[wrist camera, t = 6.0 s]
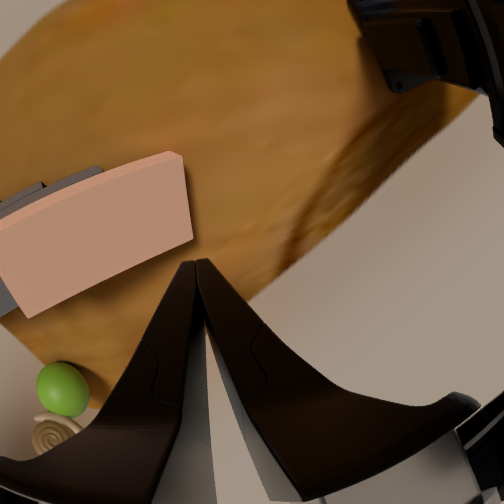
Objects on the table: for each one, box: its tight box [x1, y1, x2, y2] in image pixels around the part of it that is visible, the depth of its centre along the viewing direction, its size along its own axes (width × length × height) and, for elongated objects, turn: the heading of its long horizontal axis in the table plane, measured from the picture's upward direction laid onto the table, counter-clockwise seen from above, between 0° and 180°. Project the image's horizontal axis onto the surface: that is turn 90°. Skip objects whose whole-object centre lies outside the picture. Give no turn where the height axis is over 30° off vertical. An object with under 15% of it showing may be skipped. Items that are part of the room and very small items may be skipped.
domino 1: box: [0, 165, 103, 317], centre depth 10 cm, size 1×4×10 cm
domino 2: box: [0, 151, 193, 319], centre depth 11 cm, size 1×4×10 cm
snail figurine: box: [32, 362, 90, 455], centre depth 16 cm, size 5×6×12 cm
